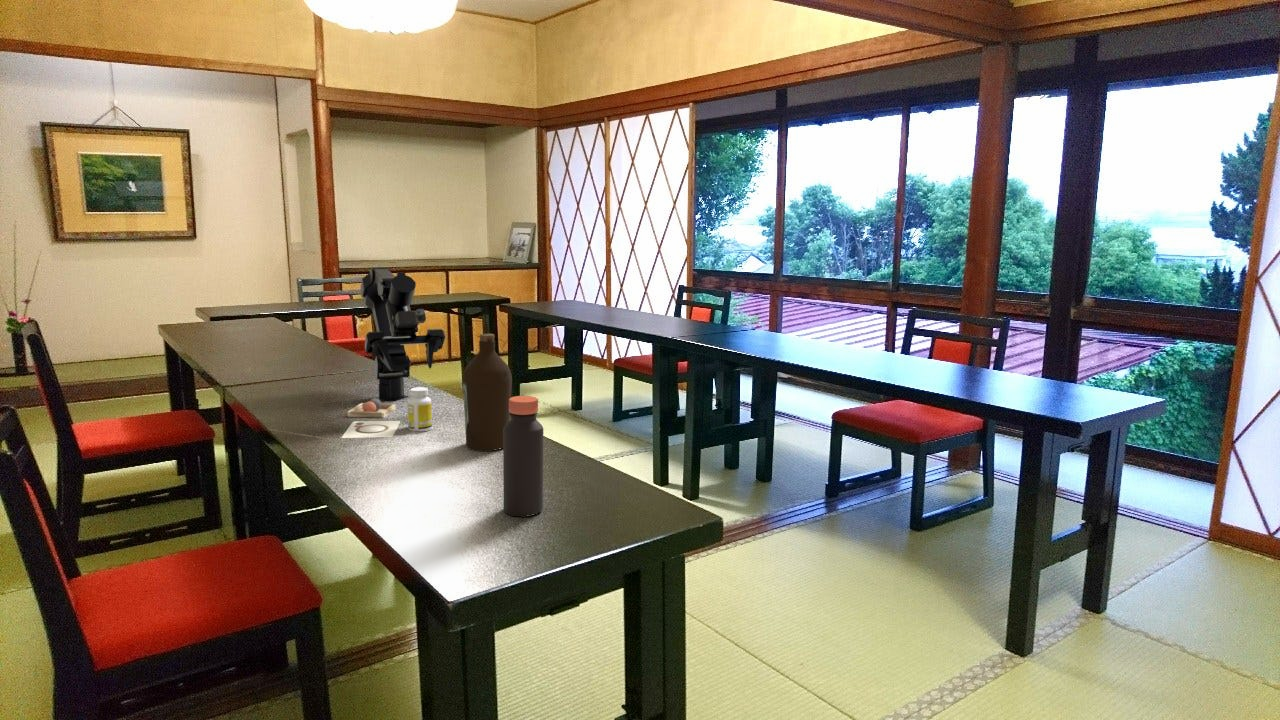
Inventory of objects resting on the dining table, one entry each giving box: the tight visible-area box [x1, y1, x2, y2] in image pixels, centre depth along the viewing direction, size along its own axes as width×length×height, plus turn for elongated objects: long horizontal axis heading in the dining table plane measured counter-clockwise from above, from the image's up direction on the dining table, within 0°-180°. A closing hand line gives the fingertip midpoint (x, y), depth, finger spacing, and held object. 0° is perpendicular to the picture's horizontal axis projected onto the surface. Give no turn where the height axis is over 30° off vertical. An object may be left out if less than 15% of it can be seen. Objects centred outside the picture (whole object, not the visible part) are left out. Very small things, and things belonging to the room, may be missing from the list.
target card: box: [340, 420, 401, 439], centre depth 176 cm, size 14×11×1 cm
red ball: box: [363, 401, 376, 412], centre depth 188 cm, size 3×3×3 cm
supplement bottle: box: [407, 386, 433, 433], centre depth 178 cm, size 5×5×10 cm
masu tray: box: [347, 402, 397, 419], centre depth 190 cm, size 9×9×2 cm
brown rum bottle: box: [461, 333, 513, 452], centre depth 165 cm, size 11×11×25 cm
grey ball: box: [368, 397, 382, 411], centre depth 192 cm, size 3×3×3 cm
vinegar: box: [502, 395, 544, 517], centre depth 129 cm, size 7×7×20 cm
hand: (411, 368), depth 183 cm, fingers open, 9 cm apart
